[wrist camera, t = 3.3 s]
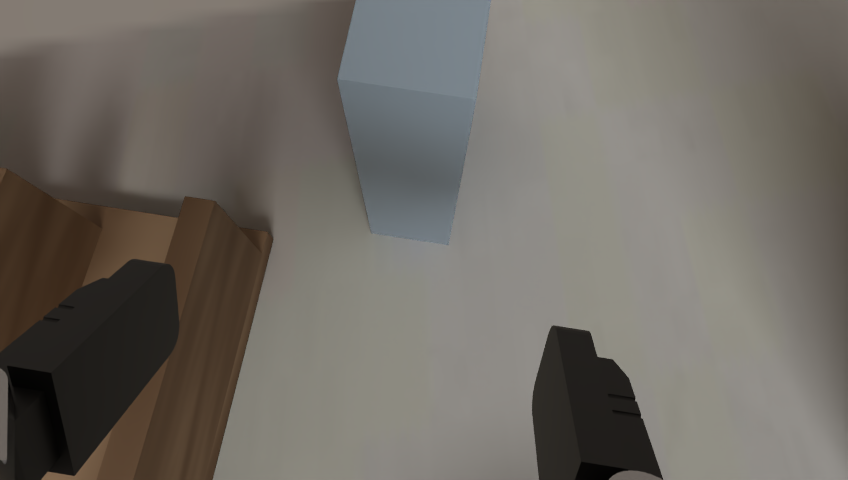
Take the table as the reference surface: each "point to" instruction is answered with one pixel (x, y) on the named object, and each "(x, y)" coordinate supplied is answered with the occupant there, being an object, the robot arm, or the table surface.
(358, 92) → the pale blue upright slab
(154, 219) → the rack
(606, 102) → the table surface
